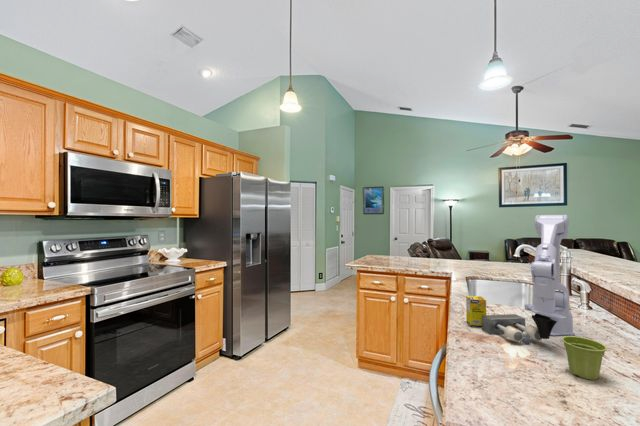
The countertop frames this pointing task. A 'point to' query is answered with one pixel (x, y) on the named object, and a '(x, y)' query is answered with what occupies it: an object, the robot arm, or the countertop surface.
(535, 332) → the knob
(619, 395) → the countertop surface
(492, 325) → the panel
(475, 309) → the supplement box
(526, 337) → the potentiometer
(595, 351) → the plant pot
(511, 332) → the knob
